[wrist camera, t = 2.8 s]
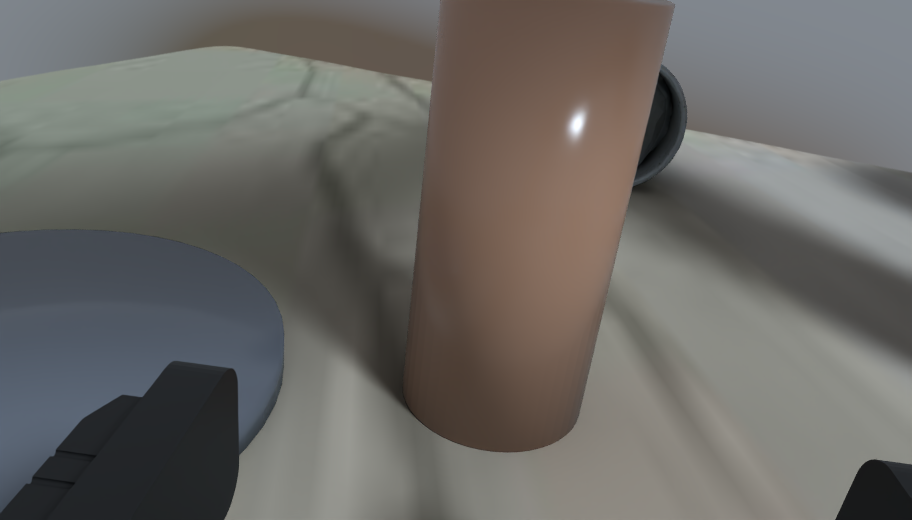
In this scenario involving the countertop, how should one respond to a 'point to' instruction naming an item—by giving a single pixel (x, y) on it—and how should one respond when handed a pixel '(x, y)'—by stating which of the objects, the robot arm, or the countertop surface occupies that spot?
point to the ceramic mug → (662, 127)
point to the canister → (524, 209)
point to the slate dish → (119, 333)
